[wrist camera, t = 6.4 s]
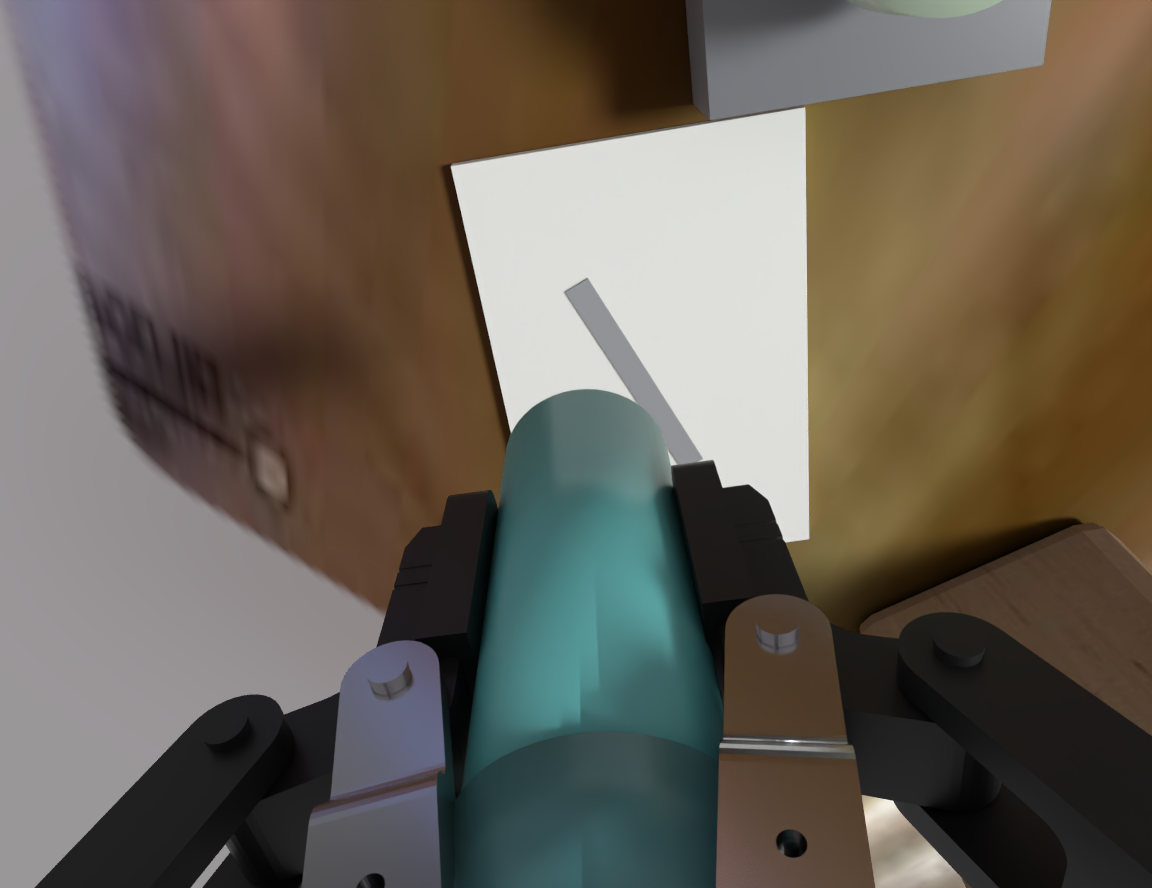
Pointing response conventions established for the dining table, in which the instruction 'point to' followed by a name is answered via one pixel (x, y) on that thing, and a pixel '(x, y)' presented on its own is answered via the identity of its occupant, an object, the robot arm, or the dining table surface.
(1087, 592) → the wooden block
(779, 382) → the pad
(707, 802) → the marker
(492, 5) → the dining table surface
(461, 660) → the robot arm
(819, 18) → the button housing
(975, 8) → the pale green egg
